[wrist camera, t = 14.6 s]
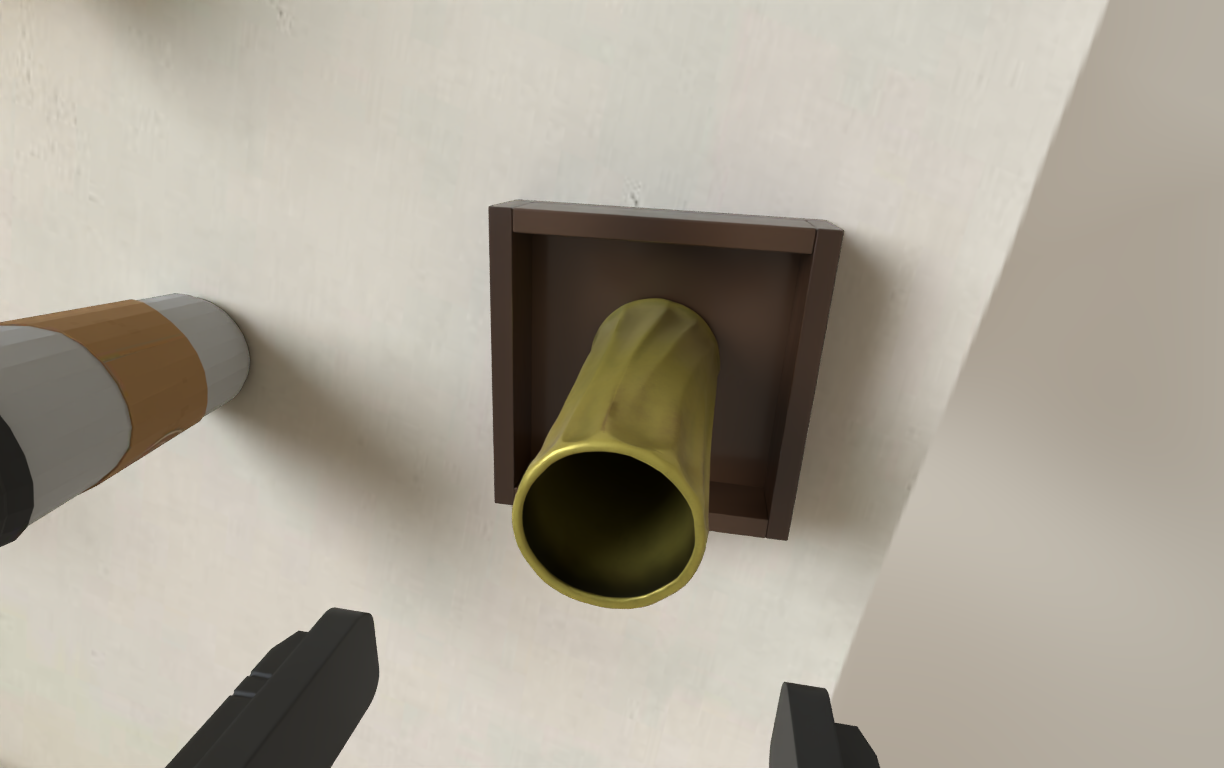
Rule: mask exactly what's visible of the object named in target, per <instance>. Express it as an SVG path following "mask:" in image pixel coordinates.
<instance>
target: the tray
mask: <svg viewBox="0 0 1224 768" xmlns="http://www.w3.org/2000/svg"><path fill="white" fill-rule="evenodd" d="M488 208H489V255H490V302H491V349H492V396H493V444H494V491H495V503H499V504H507V505H513V502H514V499H515V495H516V493H517V490H518V487H519V485H520V483H521V480H522V478H523V476H524V474H525V472H526V470H527V468H528V467H529V465H530V464H531V462H532V461H533V460H534V459H535V457H536V456H537V455H538V453H539V452H540V450H541V448H542V446H543V444H544V442H545V439H546V437H547V435H548V433H549V431H550V429H551V428H552V426H553V424H554V423H555V421H556V420H557V418H558V416H559V414H560V412H561V410H562V408H563V406H564V404H565V401H566V399H567V397H568V395H569V393H570V391H571V389H572V388H573V386H574V384H575V382H576V380H577V377H578V375H579V373H580V371H581V368H582V366H583V364H584V363H585V361H586V359H587V357H588V355H589V354H590V352H591V348H592V343H593V340H594V338H595V335H596V333H597V331H598V329H599V327H600V326H601V324H602V323H603V322H604V320H605V319H606V318H607V317H608V316H609V315H610V314H612V313H613V312H614V311H615V310H617V309H618V308H620V307H621V306H623V305H625V304H627V303H630V302H632V301H636V300H641V299H648V298H660V299H666V300H670V301H673V302H676V303H679V304H682V305H684V306H686V307H688V308H690V309H691V310H693V311H694V312H696V313H697V314H698V315H700V316H701V317H702V318H703V320H704V321H705V322H706V323H707V325H708V326H709V328H710V329H711V331H712V333H713V334H714V336H715V338H716V341H717V343H718V348H719V355H720V371H719V374H718V377H717V389H716V399H715V407H714V418H713V429H712V440H711V455H710V484H709V516H708V518H709V531H715V532H722V533H730V534H738V535H745V536H753V537H761V538H765V537H766V538H769V539H777V540H785V541H787V540H788V536H789V531H790V525H791V520H792V514H793V509H794V503H795V498H796V493H797V487H798V482H799V476H800V471H801V465H802V460H803V454H804V449H805V443H806V438H807V432H808V427H809V421H810V416H811V410H812V405H813V399H814V394H815V388H816V383H817V377H818V372H819V366H820V361H821V355H822V350H823V345H824V339H825V334H826V328H827V323H828V317H829V312H830V306H831V301H832V295H833V290H834V284H835V279H836V273H837V268H838V262H839V257H840V251H841V246H842V240H843V235H844V230H842V229H840V228H839V227H837V226H835V225H834V224H832V223H830V222H828V221H827V220H817V219H802V218H787V217H772V216H757V215H742V214H727V213H712V212H696V211H681V210H666V209H651V208H636V207H621V206H606V205H591V204H576V203H560V202H545V201H530V200H513V201H508V202H504V203H500V204H496V205H492V206H489V207H488Z"/></svg>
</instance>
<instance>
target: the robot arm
mask: <svg viewBox="0 0 1224 768" xmlns="http://www.w3.org/2000/svg"><path fill="white" fill-rule="evenodd" d="M378 680H379V663H378V655H377V646H376V637H375V629H374V621H373V617H372V615H371V614H370V613H365V612H359V611H353V610H346V609H340V608H331V609H329V610H328V611H326V612H325V613H324V615H323V616H322V617H321V618H320V619H319V620H318V622H317V623H316V624H315V625H314V626H313V627H312V629H311V630H310V631H309V632H303V631H298V632H296V633H295V634H293V635H292V636H290V637H289V638H287V639H286V640H284V641H283V642H281V643H279V644H278V645H276V646H275V647H273V648H272V649H271V650H270V651H269V652H268V653H267V654H266V656H265V657H264V658H263V659H262V660H261V661H260V662H259V663H258V664H257V666H256V667H255V668H254V669H253V670H252V671H251V675H250V676H247V677H246V678H245V679H244V680H243V681H242V682H241V683H240V685H239V686H238V687H237V688H236V689H235V690H234V694H233V695H232V696H231V695H230V696H229V697H228V698H227V699H226V700H225V701H224V702H223V704H222V705H221V706H220V707H219V708H218V709H217V710H216V711H215V712H214V714H213V715H212V716H211V717H210V718H209V719H208V720H207V721H206V723H205V724H204V725H203V726H202V727H201V728H200V729H199V730H198V731H197V733H196V734H195V735H194V736H193V737H192V738H191V739H190V740H189V742H188V743H187V744H186V745H185V746H184V747H183V748H182V749H181V750H180V752H179V753H178V754H177V755H176V756H175V757H174V758H173V759H172V761H171V762H170V763H169V764H168V765H167V766H166V767H165V768H331V766H332V765H333V763H334V761H335V760H336V758H337V757H338V755H339V753H340V752H341V750H342V749H343V747H344V746H345V744H346V742H347V741H348V739H349V738H350V736H351V734H352V733H353V731H354V730H355V728H356V726H357V725H358V723H359V722H360V720H361V718H362V717H363V715H364V714H365V712H366V710H367V709H368V707H369V706H370V704H371V702H372V700H373V697H374V695H375V692H376V689H377V685H378ZM769 768H880V766H879V763H878V759H877V756H876V754H875V752H874V751H873V749H872V748H871V746H870V745H869V744H868V742H867V740H866V739H865V738H864V736H863V735H862V733H861V732H860V730H859V729H858V727H857V726H850V725H845V724H839V723H834V718H833V713H832V708H831V703H830V698H829V694H828V692H827V690H826V689H825V688H819V687H813V686H807V685H800V684H794V683H788V682H784V683H783V685H782V688H781V693H780V698H779V703H778V708H777V713H776V718H775V723H774V728H773V733H772V738H771V745H770V756H769Z"/></svg>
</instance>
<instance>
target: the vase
mask: <svg viewBox="0 0 1224 768" xmlns="http://www.w3.org/2000/svg"><path fill="white" fill-rule="evenodd" d="M719 371H720V355H719V348H718V343H717V341H716V338H715V336H714V334H713V333H712V331H711V329H710V328H709V326H708V325H707V323H706V322H705V321H704V320H703V318H702V317H701V316H700V315H698V314H697V313H696V312H694V311H693V310H691V309H690V308H688V307H686V306H684V305H682V304H679V303H676V302H673V301H670V300H666V299H660V298H648V299H641V300H636V301H632V302H630V303H627V304H625V305H623V306H621V307H620V308H618V309H617V310H615V311H614V312H613V313H612V314H610V315H609V316H608V317H607V318H606V319H605V320H604V322H603V323H602V324H601V326H600V327H599V329H598V331H597V333H596V335H595V338H594V340H593V343H592V348H591V352H590V354H589V355H588V357H587V359H586V361H585V363H584V364H583V366H582V368H581V371H580V373H579V375H578V377H577V380H576V382H575V384H574V386H573V388H572V389H571V391H570V393H569V395H568V397H567V399H566V401H565V404H564V406H563V408H562V410H561V412H560V414H559V416H558V418H557V420H556V421H555V423H554V424H553V426H552V428H551V429H550V431H549V433H548V435H547V437H546V439H545V442H544V444H543V446H542V448H541V450H540V452H539V453H538V455H537V456H536V457H535V459H534V460H533V461H532V462H531V464H530V465H529V467H528V468H527V470H526V472H525V474H524V476H523V478H522V480H521V483H520V485H519V487H518V490H517V493H516V495H515V499H514V502H513V508H512V525H513V531H514V535H515V539H516V542H517V545H518V547H519V549H520V551H521V553H522V555H523V556H524V558H525V559H526V561H527V562H528V563H529V565H530V566H531V567H532V569H533V570H534V571H535V572H536V574H537V575H538V576H539V577H540V578H541V579H542V580H543V581H544V582H545V583H547V584H548V585H549V586H551V587H552V588H553V589H555V590H557V591H558V592H560V593H562V594H564V595H566V596H568V597H570V598H572V599H575V600H578V601H581V602H584V603H588V604H591V605H595V606H599V607H604V608H612V609H633V608H640V607H645V606H649V605H651V604H654V603H656V602H658V601H660V600H662V599H664V598H666V597H668V596H670V595H672V594H674V593H676V592H677V591H678V590H680V589H681V588H682V587H684V586H685V585H686V584H687V583H688V582H689V581H690V579H691V578H692V577H693V575H694V574H695V572H696V571H697V569H698V567H699V565H700V563H701V560H702V558H703V555H704V552H705V548H706V543H707V538H708V532H709V518H708V516H709V484H710V455H711V440H712V429H713V418H714V407H715V399H716V389H717V377H718V374H719Z"/></svg>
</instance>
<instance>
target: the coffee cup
mask: <svg viewBox="0 0 1224 768" xmlns="http://www.w3.org/2000/svg"><path fill="white" fill-rule="evenodd" d="M249 365H250V357H249V350H248V346H247V344H246V341H245V338H244V336H243V334H242V332H241V331H240V329H239V328H238V326H237V325H236V323H235V322H234V321H233V320H232V319H231V318H230V317H229V316H228V315H227V314H226V313H225V312H224V311H223V310H222V309H220V308H219V307H217V306H216V305H214V304H213V303H211V302H208V301H206V300H203V299H201V298H196V297H193V296H190V295H185V294H176V293H174V294H169V295H163V296H158V297H152V298H146V299H141V300H132V299H131V300H125V301H119V302H114V303H108V304H102V305H97V306H91V307H85V308H79V309H74V310H68V311H62V312H57V313H51V314H45V315H40V316H34V317H28V318H22V319H17V320H11V321H5V322H0V547H1V546H4V545H6V544H8V543H10V542H13V541H15V540H16V539H17V538H18V537H19V536H20V534H21V533H22V532H23V531H24V530H25V529H26V528H27V527H28V526H29V525H30V524H32V523H33V522H35V521H37V520H38V519H40V518H42V517H43V516H45V515H46V514H48V513H50V512H51V511H53V510H54V509H56V508H58V507H59V506H61V505H62V504H64V503H66V502H67V501H69V500H70V499H72V498H74V497H75V496H77V495H79V494H81V493H83V492H85V491H87V490H89V489H91V488H93V487H95V486H97V485H99V484H100V483H102V482H104V481H105V480H107V479H108V478H110V477H112V476H113V475H115V474H116V473H118V472H119V471H121V470H123V469H124V468H126V467H127V466H129V465H131V464H132V463H134V462H135V461H137V460H139V459H140V458H142V457H143V456H145V455H147V454H148V453H150V452H151V451H153V450H155V449H156V448H158V447H159V446H161V445H162V444H164V443H166V442H167V441H169V440H170V439H172V438H174V437H175V436H177V435H178V434H180V433H182V432H183V431H185V430H186V429H188V428H190V427H191V426H193V425H194V424H196V423H198V422H199V421H200V420H201V419H202V418H203V417H204V416H206V415H207V414H209V413H210V412H212V411H214V410H215V409H217V408H218V407H220V406H222V405H223V404H225V403H226V402H228V401H230V400H231V399H232V398H233V397H234V396H235V395H236V394H237V393H238V392H239V391H240V390H241V388H242V386H243V384H244V382H245V380H246V378H247V375H248V373H249Z"/></svg>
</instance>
